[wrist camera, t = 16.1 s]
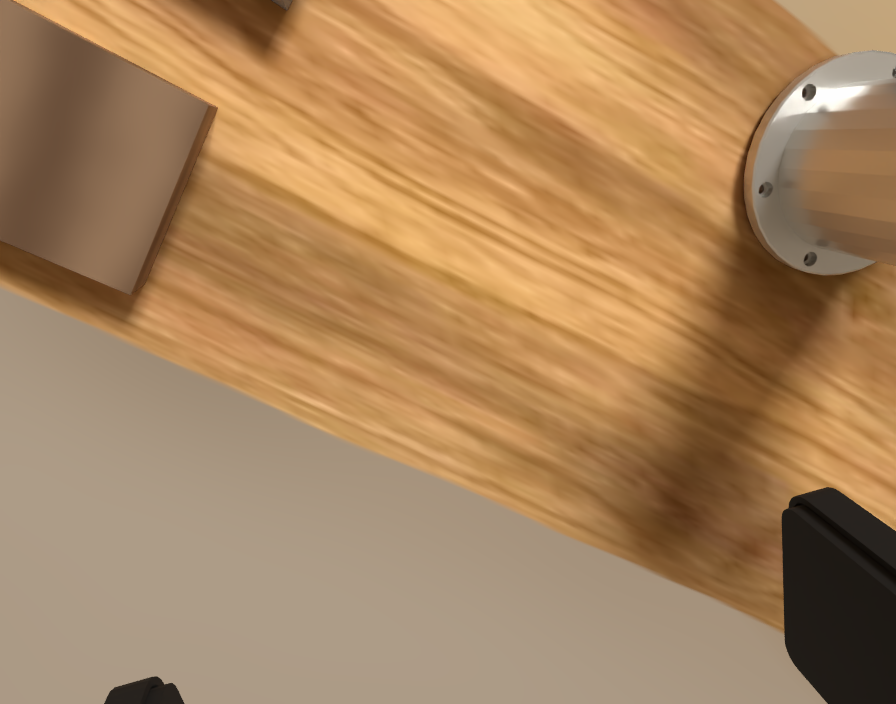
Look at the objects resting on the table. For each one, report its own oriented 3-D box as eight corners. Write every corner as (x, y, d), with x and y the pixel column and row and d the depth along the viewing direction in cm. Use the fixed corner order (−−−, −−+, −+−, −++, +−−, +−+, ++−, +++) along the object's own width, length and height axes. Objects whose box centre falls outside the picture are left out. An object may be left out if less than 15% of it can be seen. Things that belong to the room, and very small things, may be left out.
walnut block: (219, 108, 33) (208, 105, 30) (146, 282, 35) (130, 295, 32) (8, -3, 30) (-25, -17, 27) (-57, 195, 32) (-95, 200, 29)
